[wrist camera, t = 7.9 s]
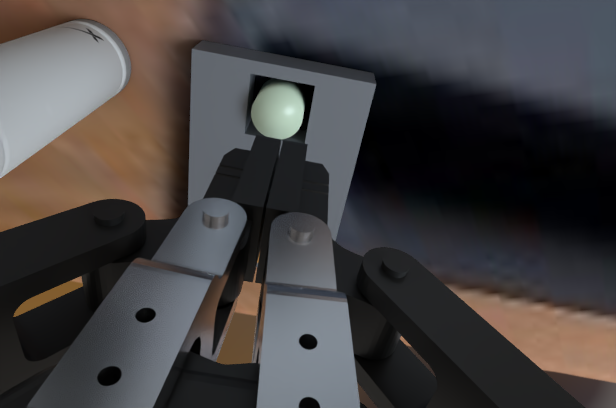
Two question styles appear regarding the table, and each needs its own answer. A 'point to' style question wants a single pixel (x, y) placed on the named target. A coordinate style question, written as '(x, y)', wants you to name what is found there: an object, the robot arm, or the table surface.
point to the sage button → (279, 108)
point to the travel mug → (55, 84)
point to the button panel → (241, 131)
